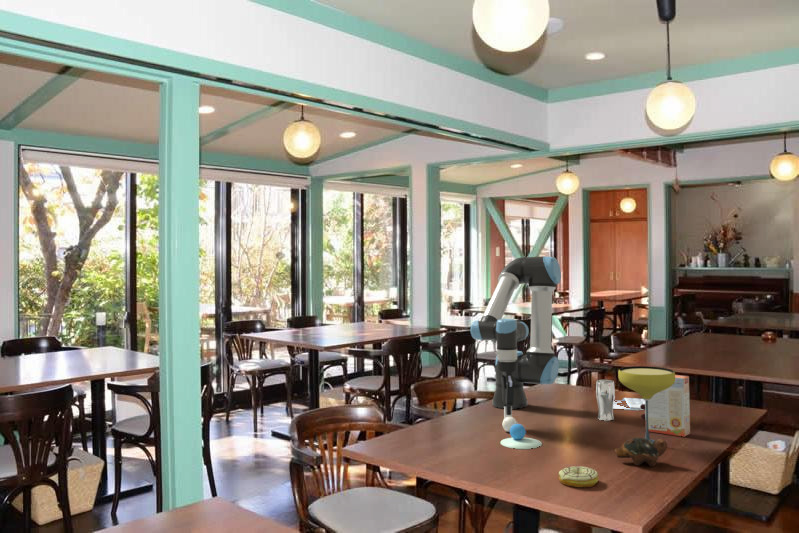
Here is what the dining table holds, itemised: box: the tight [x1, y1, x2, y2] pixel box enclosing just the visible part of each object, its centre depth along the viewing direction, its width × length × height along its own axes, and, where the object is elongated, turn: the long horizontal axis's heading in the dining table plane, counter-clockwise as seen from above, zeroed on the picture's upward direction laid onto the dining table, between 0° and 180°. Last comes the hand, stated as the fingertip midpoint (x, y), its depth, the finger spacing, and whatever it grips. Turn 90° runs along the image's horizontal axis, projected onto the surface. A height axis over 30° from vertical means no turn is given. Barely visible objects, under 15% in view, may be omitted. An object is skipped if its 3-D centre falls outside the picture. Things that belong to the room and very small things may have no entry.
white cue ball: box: [501, 416, 518, 433], centre depth 240 cm, size 6×6×6 cm
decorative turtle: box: [614, 437, 668, 468], centre depth 200 cm, size 10×15×8 cm, turn 80°
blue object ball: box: [509, 423, 527, 440], centre depth 229 cm, size 6×6×6 cm
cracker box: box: [644, 374, 691, 438], centre depth 234 cm, size 14×6×21 cm, turn 47°
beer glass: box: [595, 379, 616, 422], centre depth 255 cm, size 7×7×15 cm
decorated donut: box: [558, 465, 599, 489], centre depth 184 cm, size 10×11×4 cm
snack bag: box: [613, 397, 645, 411], centre depth 279 cm, size 19×20×2 cm
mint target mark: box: [500, 437, 543, 450], centre depth 224 cm, size 14×14×1 cm
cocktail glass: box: [617, 365, 676, 443], centre depth 220 cm, size 18×18×25 cm
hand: (508, 422), depth 245 cm, fingers closed
